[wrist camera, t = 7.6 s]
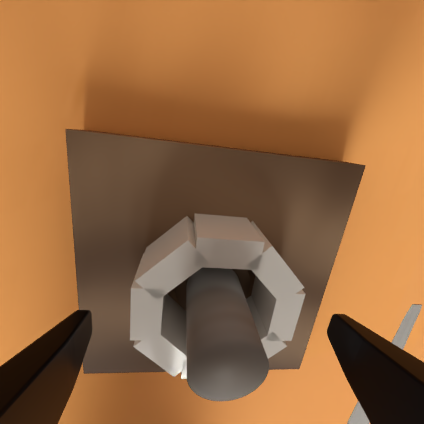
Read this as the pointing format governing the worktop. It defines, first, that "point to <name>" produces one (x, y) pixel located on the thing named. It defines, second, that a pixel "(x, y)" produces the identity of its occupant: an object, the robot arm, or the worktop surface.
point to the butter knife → (358, 418)
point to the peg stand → (205, 277)
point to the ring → (209, 258)
